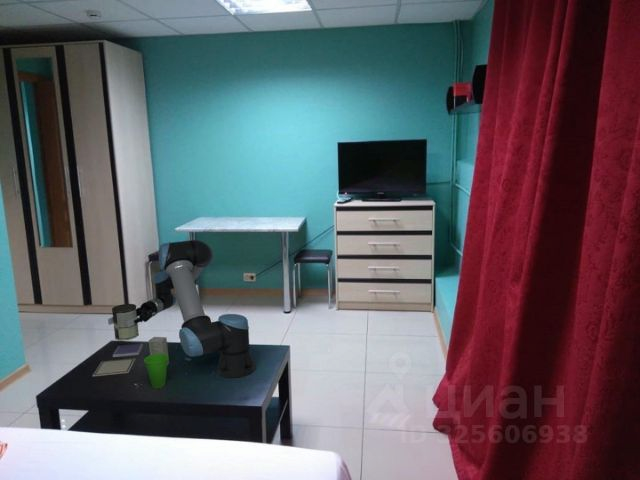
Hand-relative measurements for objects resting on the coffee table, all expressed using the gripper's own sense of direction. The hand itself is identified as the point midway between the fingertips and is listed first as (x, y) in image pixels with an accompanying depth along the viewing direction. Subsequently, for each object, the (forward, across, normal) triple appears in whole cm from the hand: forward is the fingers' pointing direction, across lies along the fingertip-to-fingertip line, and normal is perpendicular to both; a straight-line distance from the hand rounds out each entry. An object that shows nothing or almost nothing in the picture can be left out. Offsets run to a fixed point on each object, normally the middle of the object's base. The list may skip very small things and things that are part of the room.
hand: (118, 323), depth 207 cm
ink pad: (-4, 0, -15) cm, 16 cm away
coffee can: (-4, 0, -8) cm, 9 cm away
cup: (+19, -36, -15) cm, 43 cm away
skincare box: (+5, -25, -15) cm, 30 cm away
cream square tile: (+12, -7, -15) cm, 20 cm away
